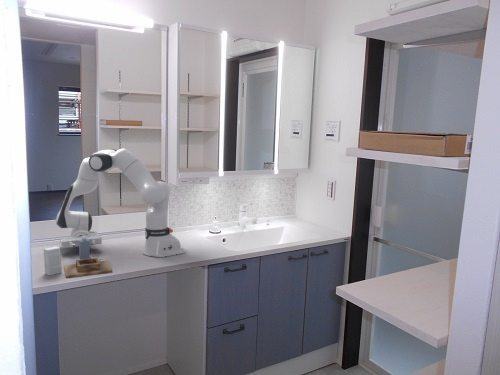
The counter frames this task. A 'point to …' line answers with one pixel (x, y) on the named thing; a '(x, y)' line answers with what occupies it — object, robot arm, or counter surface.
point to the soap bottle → (84, 248)
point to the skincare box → (52, 260)
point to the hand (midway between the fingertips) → (83, 244)
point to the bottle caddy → (87, 267)
